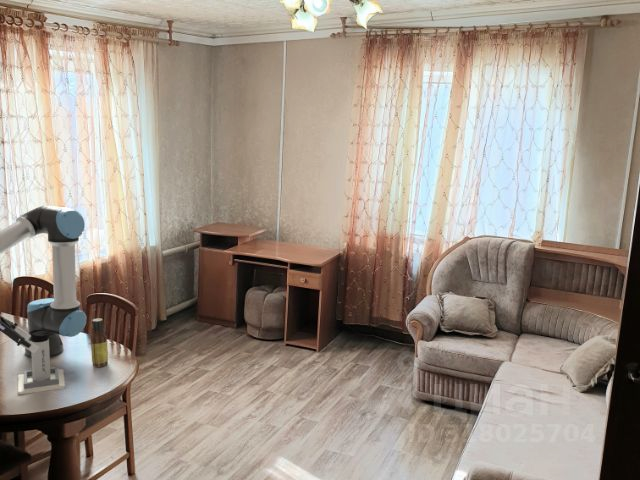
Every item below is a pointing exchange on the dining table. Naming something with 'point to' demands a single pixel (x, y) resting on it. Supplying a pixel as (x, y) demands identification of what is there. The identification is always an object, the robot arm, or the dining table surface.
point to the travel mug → (40, 355)
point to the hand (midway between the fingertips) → (32, 344)
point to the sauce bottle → (99, 344)
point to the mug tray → (40, 382)
